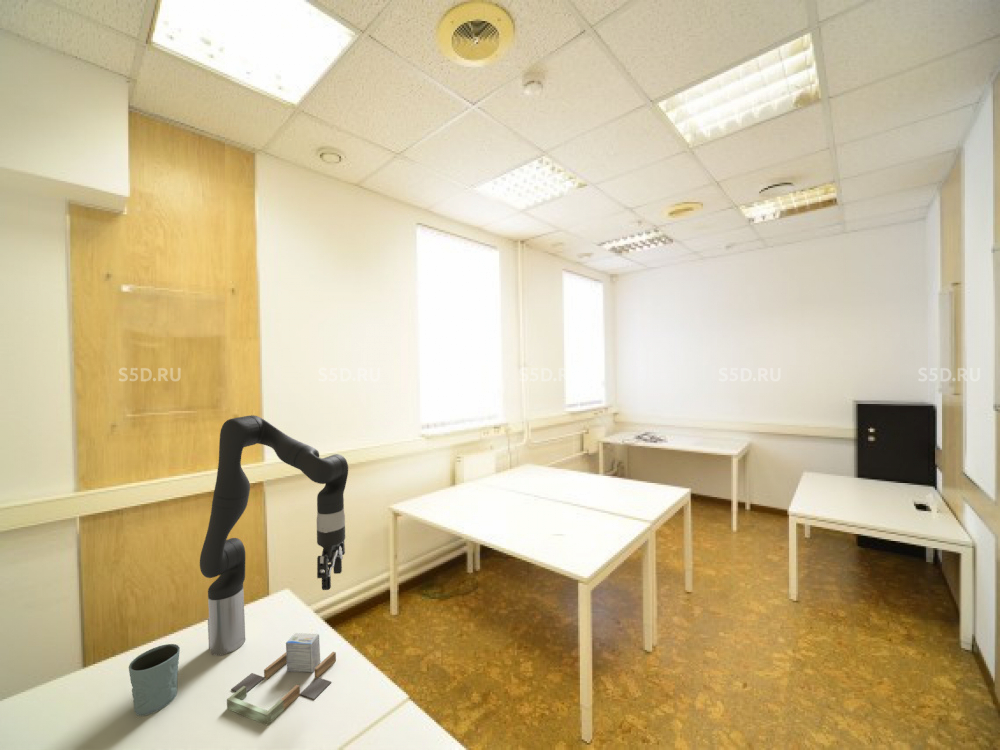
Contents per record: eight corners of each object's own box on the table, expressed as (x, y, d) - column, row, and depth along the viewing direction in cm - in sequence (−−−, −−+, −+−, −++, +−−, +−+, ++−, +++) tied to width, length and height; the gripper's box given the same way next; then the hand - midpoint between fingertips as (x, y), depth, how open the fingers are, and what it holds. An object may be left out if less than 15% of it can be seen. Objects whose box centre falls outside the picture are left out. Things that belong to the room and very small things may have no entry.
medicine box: (320, 661, 117) (319, 633, 117) (312, 673, 112) (311, 643, 112) (296, 660, 118) (294, 632, 118) (286, 672, 113) (285, 642, 113)
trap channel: (214, 703, 103) (213, 694, 103) (287, 645, 124) (287, 638, 124) (282, 731, 94) (282, 721, 94) (349, 664, 115) (349, 656, 115)
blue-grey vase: (121, 722, 98) (119, 675, 98) (145, 690, 108) (143, 647, 108) (169, 711, 101) (167, 665, 101) (188, 681, 111) (186, 639, 111)
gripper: (327, 516, 120) (328, 568, 120) (306, 536, 106) (308, 595, 106) (352, 515, 120) (353, 567, 121) (334, 535, 106) (336, 594, 106)
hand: (332, 580), depth 113 cm, fingers open, 8 cm apart
